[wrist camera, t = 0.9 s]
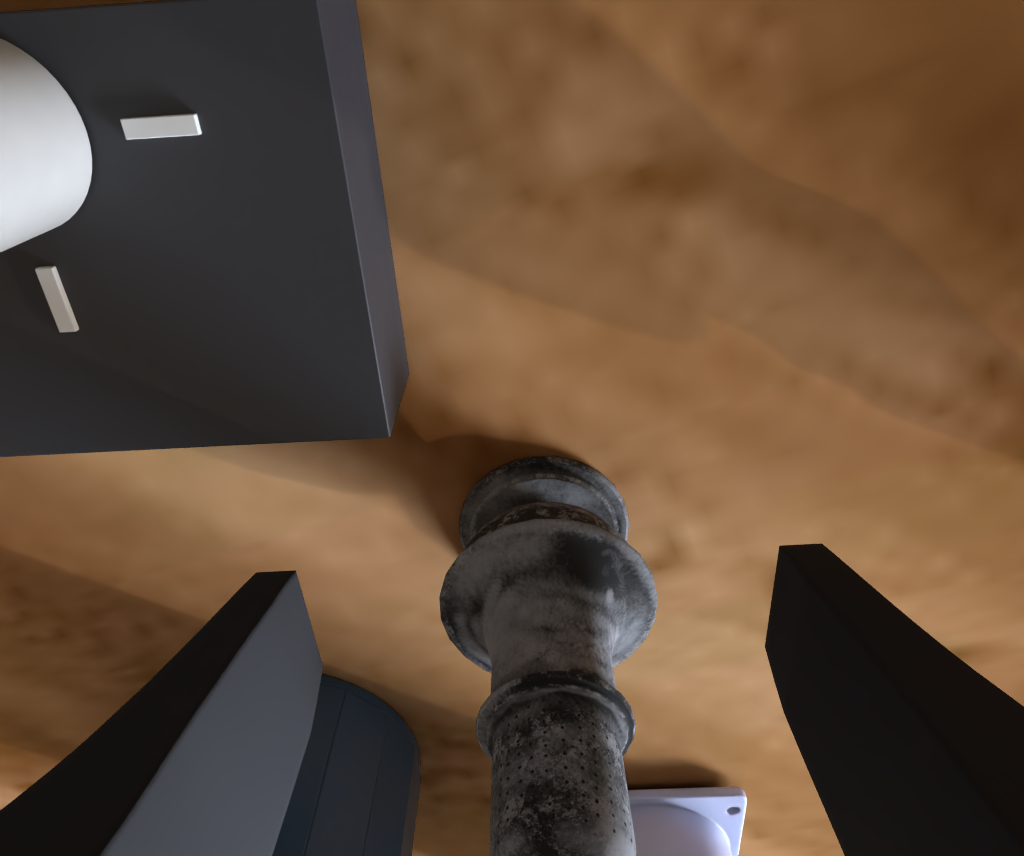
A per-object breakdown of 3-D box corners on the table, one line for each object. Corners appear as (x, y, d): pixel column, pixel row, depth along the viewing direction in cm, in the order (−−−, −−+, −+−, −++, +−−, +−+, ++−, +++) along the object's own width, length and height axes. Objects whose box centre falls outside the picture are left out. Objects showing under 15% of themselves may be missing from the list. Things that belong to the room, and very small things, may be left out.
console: (409, 374, 20) (389, 441, 17) (-47, 398, 20) (-152, 468, 17) (339, -114, 15) (290, -152, 11) (-278, -67, 15) (-494, -91, 12)
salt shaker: (466, 607, 24) (429, 1054, 14) (433, 459, 21) (355, 883, 11) (642, 589, 24) (743, 1037, 13) (633, 436, 21) (753, 854, 10)
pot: (433, 825, 30) (413, 1024, 24) (208, 832, 30) (133, 1031, 24) (403, 663, 25) (368, 861, 19) (137, 674, 26) (22, 872, 20)
